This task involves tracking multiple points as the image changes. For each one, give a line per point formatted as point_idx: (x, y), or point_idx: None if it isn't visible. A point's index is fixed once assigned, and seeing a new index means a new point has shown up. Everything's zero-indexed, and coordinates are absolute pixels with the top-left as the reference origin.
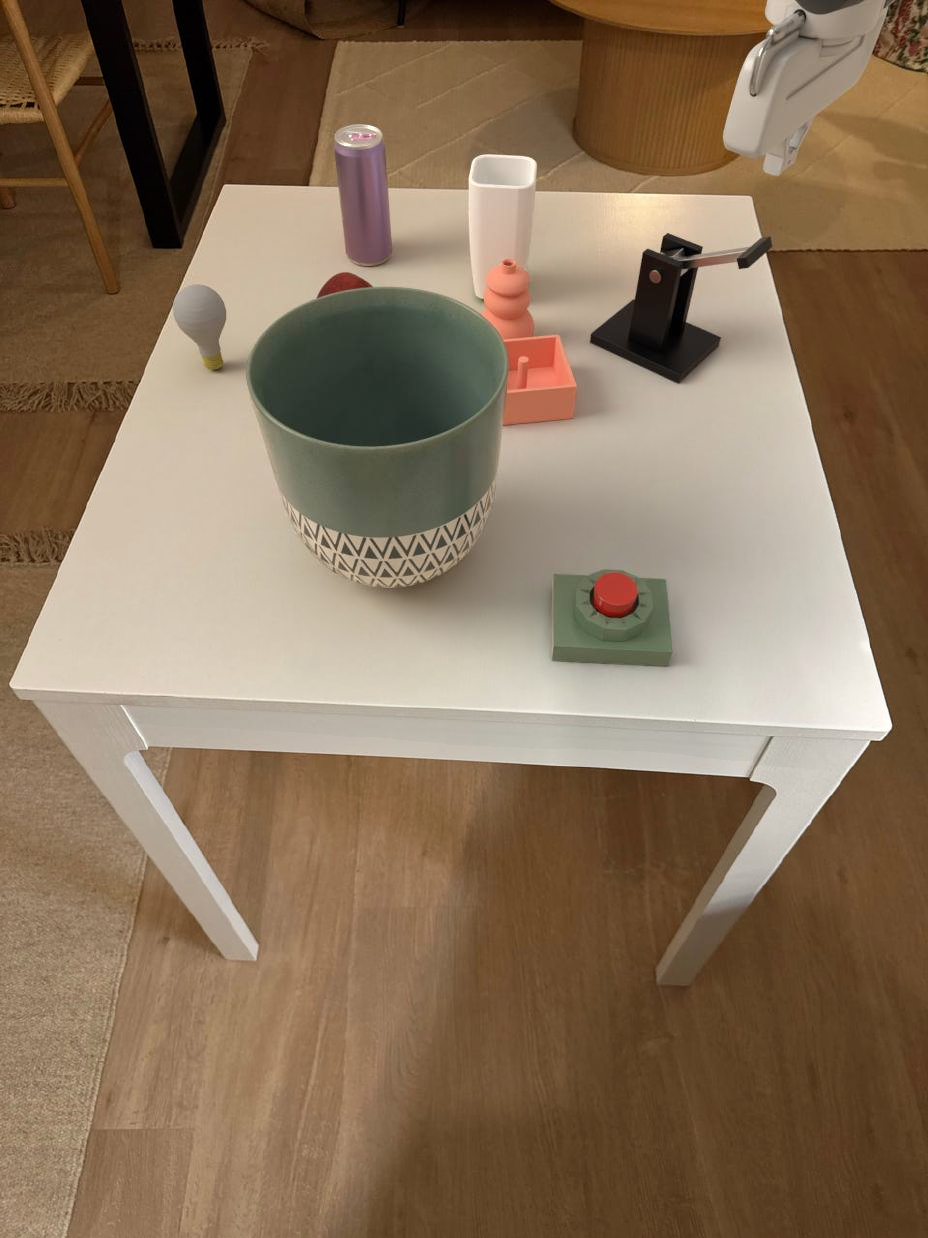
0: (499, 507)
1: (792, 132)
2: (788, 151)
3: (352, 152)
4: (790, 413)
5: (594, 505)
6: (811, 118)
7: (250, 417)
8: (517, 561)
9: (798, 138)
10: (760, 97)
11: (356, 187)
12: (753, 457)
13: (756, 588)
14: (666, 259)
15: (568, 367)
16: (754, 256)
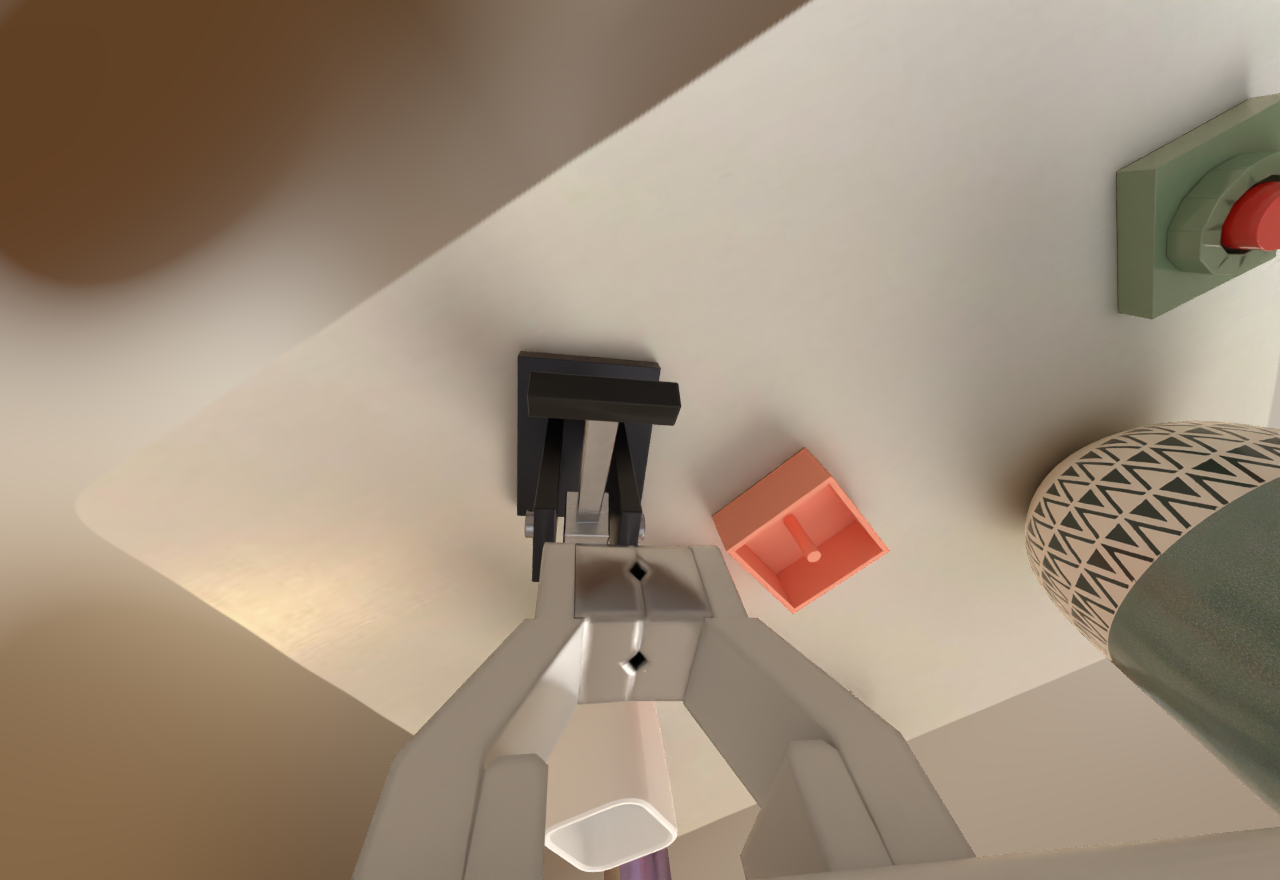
0: (991, 434)
1: (1196, 870)
2: (735, 641)
3: None
4: (627, 144)
5: (961, 340)
6: (437, 823)
7: (920, 673)
8: (1075, 371)
9: (548, 676)
10: None
11: (667, 863)
12: (780, 162)
13: (1089, 20)
14: (632, 540)
15: (794, 505)
16: (639, 390)
